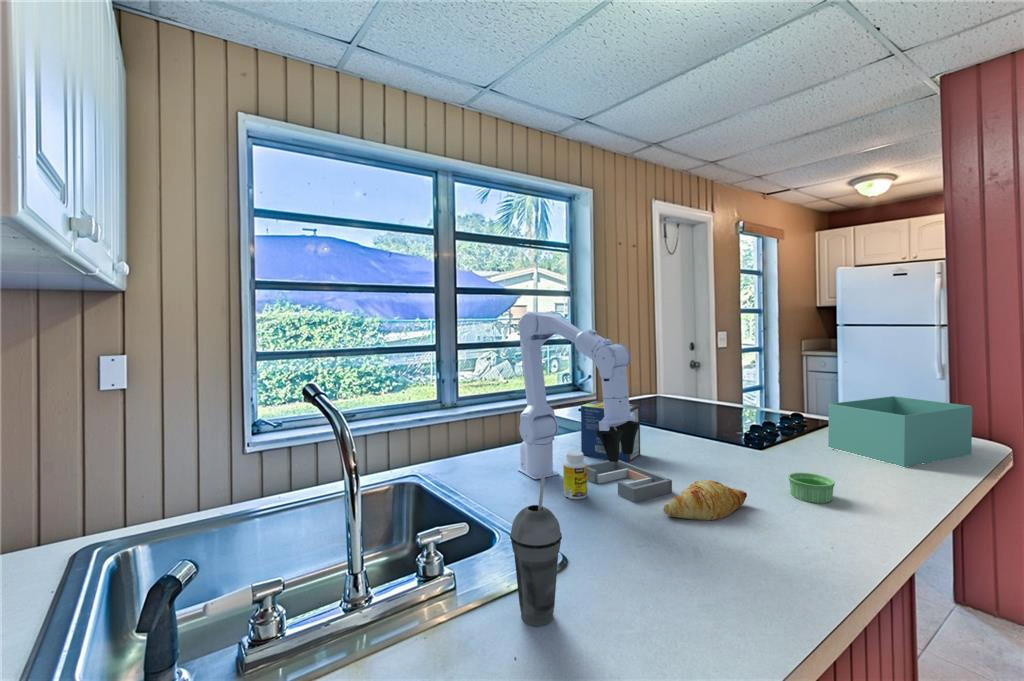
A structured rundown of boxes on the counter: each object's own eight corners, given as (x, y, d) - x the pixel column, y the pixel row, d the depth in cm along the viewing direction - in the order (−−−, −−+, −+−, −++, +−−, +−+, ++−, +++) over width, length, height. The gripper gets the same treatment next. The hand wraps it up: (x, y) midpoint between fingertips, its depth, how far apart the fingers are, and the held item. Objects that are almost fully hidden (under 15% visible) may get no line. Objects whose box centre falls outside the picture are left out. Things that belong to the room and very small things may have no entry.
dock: (581, 476, 122) (581, 465, 122) (616, 469, 128) (616, 458, 128) (633, 502, 105) (633, 489, 105) (672, 492, 110) (671, 480, 110)
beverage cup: (509, 602, 68) (506, 468, 67) (557, 598, 69) (556, 466, 68) (513, 635, 61) (511, 486, 60) (568, 631, 62) (566, 483, 61)
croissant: (673, 541, 93) (685, 514, 90) (646, 502, 102) (656, 476, 98) (754, 522, 100) (768, 496, 97) (722, 487, 109) (734, 462, 105)
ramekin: (825, 492, 109) (825, 473, 109) (841, 506, 101) (841, 487, 100) (783, 489, 112) (783, 471, 111) (795, 503, 103) (795, 483, 103)
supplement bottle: (574, 502, 106) (573, 457, 105) (558, 494, 110) (558, 452, 110) (592, 496, 109) (591, 453, 108) (576, 489, 113) (576, 448, 113)
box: (971, 454, 137) (972, 406, 136) (904, 468, 125) (905, 415, 125) (892, 438, 156) (893, 396, 155) (828, 449, 144) (828, 403, 144)
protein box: (595, 447, 151) (594, 400, 150) (640, 454, 142) (640, 404, 141) (580, 455, 143) (579, 405, 142) (628, 463, 134) (627, 410, 133)
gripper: (618, 401, 97) (623, 466, 96) (645, 393, 108) (650, 451, 108) (588, 401, 101) (593, 463, 100) (617, 394, 112) (622, 449, 112)
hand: (620, 457), depth 104 cm, fingers open, 7 cm apart
